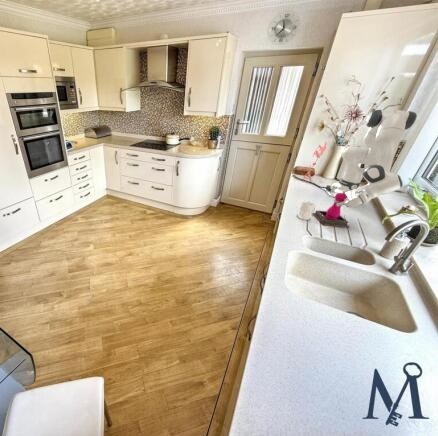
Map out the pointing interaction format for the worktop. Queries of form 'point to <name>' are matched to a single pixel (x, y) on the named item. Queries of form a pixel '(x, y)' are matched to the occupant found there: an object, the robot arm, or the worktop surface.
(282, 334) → the worktop surface
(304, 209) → the white cup
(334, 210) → the pepper mill
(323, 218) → the dock pad
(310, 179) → the figurine
